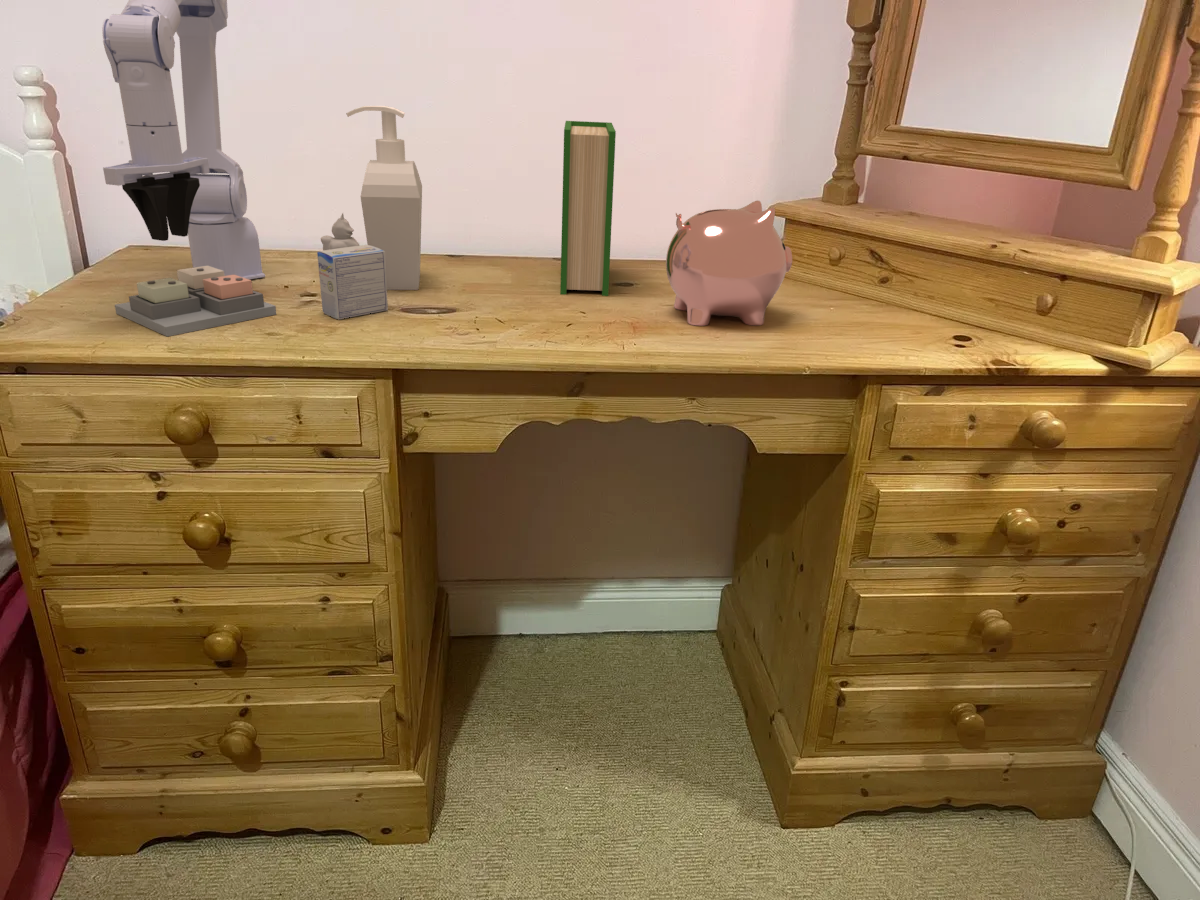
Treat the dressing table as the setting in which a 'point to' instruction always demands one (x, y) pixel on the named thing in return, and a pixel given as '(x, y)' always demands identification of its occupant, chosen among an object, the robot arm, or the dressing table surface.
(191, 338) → the dressing table surface
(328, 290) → the medicine box
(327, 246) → the rubber duck
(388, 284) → the soap bottle
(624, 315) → the dressing table surface
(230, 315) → the stacking puzzle board
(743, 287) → the piggy bank
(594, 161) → the hardback book
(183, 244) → the dressing table surface
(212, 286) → the tile coral
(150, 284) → the tile sage
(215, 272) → the tile ivory
